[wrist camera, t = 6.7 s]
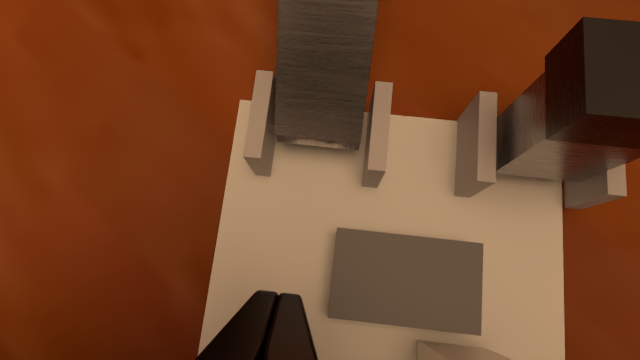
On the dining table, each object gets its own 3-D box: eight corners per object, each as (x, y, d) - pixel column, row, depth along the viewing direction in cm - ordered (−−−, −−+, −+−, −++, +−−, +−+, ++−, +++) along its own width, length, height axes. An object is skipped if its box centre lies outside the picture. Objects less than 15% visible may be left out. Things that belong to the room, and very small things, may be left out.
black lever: (575, 191, 16) (747, 128, 9) (481, 181, 16) (586, 113, 9) (574, 129, 16) (735, 29, 10) (482, 120, 16) (583, 16, 10)
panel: (572, 522, 15) (647, 596, 11) (186, 470, 16) (144, 525, 12) (565, 138, 18) (622, 104, 15) (245, 107, 19) (225, 67, 15)
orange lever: (364, 162, 15) (410, -191, 11) (267, 152, 15) (276, -199, 11) (363, 138, 17) (402, -162, 13) (278, 130, 17) (289, -170, 13)
